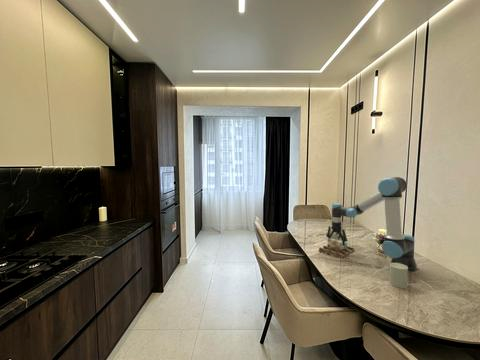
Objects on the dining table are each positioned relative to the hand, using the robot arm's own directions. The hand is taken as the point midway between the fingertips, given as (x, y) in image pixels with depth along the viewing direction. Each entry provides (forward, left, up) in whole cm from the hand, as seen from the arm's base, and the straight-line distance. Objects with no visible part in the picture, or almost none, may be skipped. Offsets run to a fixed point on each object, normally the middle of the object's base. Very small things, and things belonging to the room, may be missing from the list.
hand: (336, 247), depth 192 cm
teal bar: (0, -7, -3) cm, 7 cm away
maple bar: (0, 0, 0) cm, 0 cm away
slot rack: (0, 0, -4) cm, 4 cm away
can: (-52, +23, -4) cm, 56 cm away
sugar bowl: (+14, -25, -4) cm, 29 cm away
